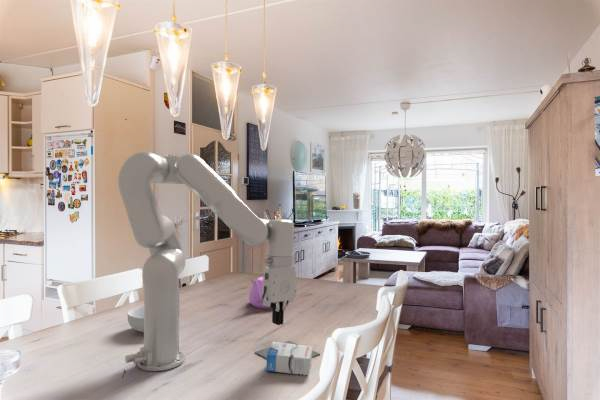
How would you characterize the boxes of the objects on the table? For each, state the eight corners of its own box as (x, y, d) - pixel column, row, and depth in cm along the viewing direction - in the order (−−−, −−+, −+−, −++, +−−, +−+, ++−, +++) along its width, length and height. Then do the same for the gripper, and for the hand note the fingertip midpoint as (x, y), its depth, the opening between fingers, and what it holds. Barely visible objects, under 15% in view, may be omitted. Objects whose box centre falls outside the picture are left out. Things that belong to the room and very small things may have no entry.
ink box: (265, 371, 104) (308, 376, 103) (266, 353, 104) (310, 358, 103) (271, 357, 113) (312, 362, 111) (272, 340, 112) (313, 345, 111)
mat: (284, 368, 107) (284, 366, 107) (254, 352, 118) (254, 351, 118) (319, 354, 117) (319, 353, 117) (289, 341, 127) (289, 340, 127)
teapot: (265, 296, 187) (266, 267, 187) (298, 301, 179) (298, 271, 179) (234, 308, 165) (234, 276, 164) (269, 315, 156) (269, 281, 156)
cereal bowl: (123, 340, 127) (123, 319, 127) (131, 324, 143) (131, 305, 143) (177, 336, 131) (178, 315, 131) (179, 321, 147) (179, 302, 147)
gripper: (267, 265, 106) (265, 332, 106) (307, 261, 116) (304, 322, 116) (251, 261, 111) (249, 325, 111) (290, 257, 122) (288, 316, 122)
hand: (277, 323), depth 114 cm, fingers closed
